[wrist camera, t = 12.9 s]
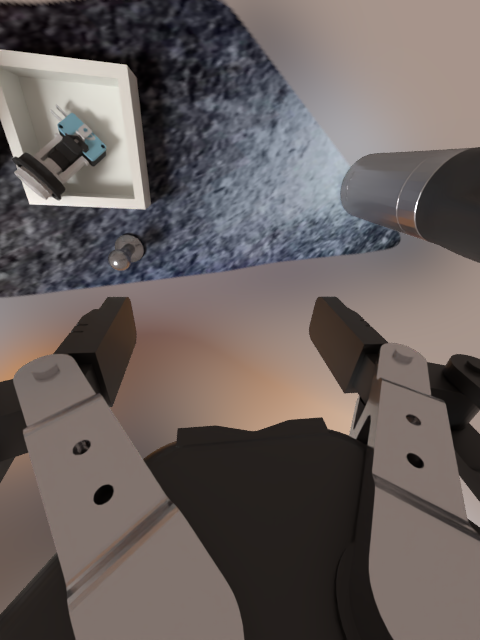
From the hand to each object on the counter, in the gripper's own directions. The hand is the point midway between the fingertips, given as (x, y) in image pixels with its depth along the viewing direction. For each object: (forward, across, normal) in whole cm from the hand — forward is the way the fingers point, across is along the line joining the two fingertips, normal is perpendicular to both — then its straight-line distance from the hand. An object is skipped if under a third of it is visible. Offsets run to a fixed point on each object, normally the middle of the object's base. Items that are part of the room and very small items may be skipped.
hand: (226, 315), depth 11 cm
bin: (+34, +16, -7) cm, 38 cm away
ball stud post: (+34, +13, +7) cm, 37 cm away
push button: (+32, +15, -9) cm, 37 cm away
